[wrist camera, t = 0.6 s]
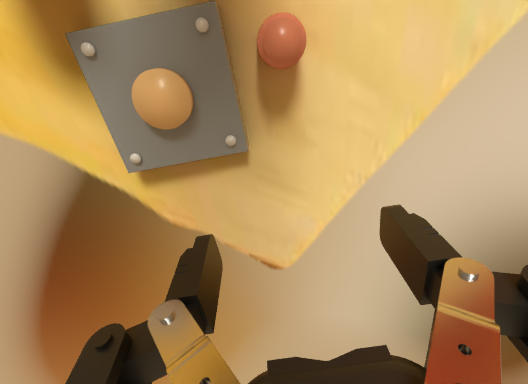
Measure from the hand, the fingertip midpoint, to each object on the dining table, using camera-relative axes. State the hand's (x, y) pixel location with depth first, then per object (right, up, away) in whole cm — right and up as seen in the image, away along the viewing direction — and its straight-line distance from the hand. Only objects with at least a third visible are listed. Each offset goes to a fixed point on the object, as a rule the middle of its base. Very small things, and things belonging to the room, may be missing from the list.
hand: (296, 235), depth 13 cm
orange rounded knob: (0, +18, +16) cm, 24 cm away
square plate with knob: (-12, +13, +18) cm, 26 cm away
